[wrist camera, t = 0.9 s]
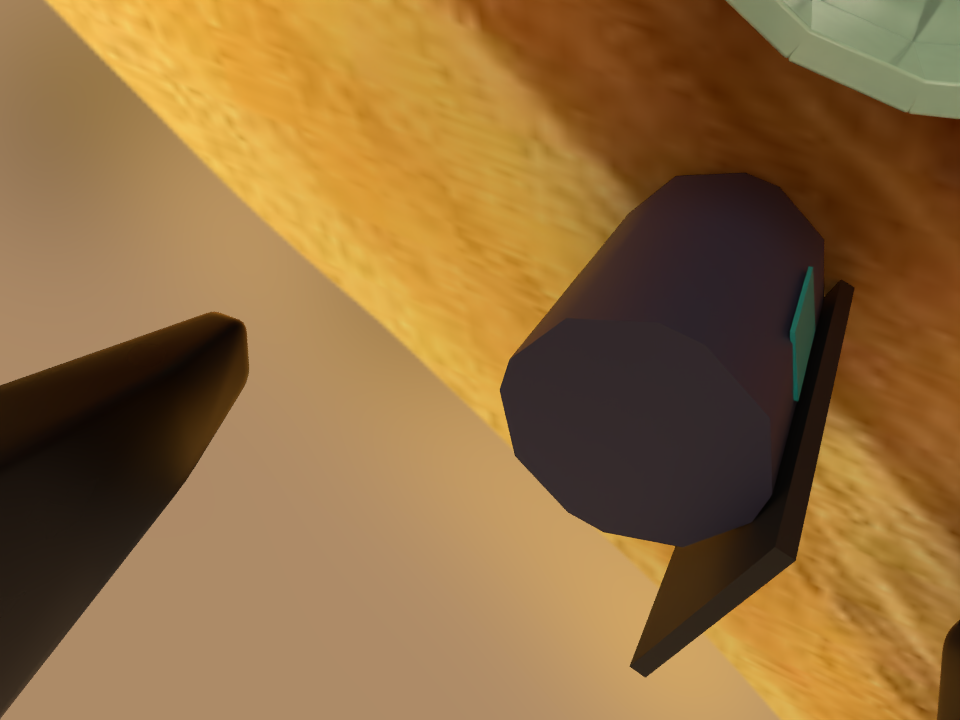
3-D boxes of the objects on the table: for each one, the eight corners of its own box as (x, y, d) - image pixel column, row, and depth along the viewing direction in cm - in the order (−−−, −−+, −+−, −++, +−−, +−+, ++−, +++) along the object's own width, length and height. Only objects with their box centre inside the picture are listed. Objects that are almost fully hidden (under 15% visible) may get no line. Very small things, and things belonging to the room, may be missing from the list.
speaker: (919, 326, 21) (913, 645, 13) (738, 408, 24) (652, 691, 17) (741, 104, 19) (621, 313, 12) (580, 227, 23) (413, 444, 16)
